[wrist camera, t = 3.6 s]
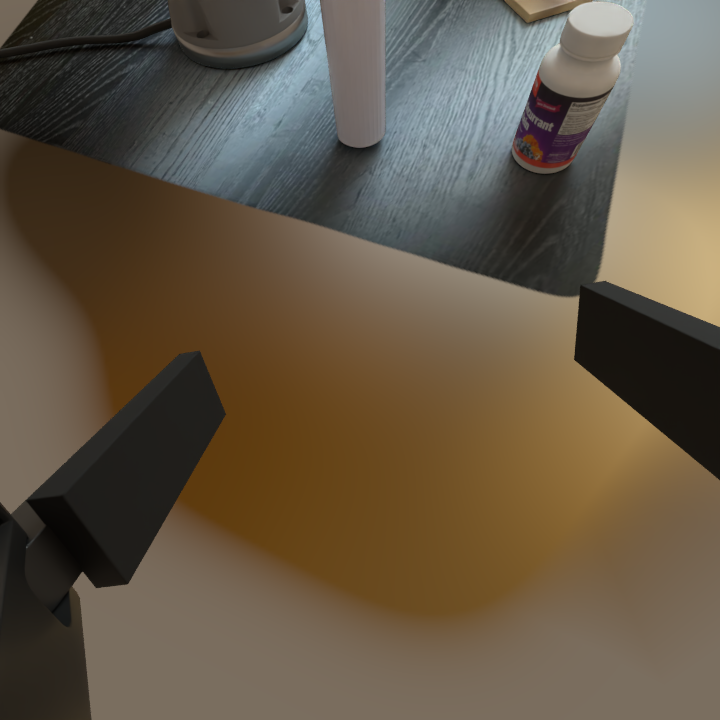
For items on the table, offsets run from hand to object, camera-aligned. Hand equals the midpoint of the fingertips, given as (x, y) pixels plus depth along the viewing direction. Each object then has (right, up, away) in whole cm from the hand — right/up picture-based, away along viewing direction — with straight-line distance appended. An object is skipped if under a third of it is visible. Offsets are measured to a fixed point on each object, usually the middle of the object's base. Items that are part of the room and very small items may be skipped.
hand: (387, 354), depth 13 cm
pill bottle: (+15, +18, +20) cm, 31 cm away
